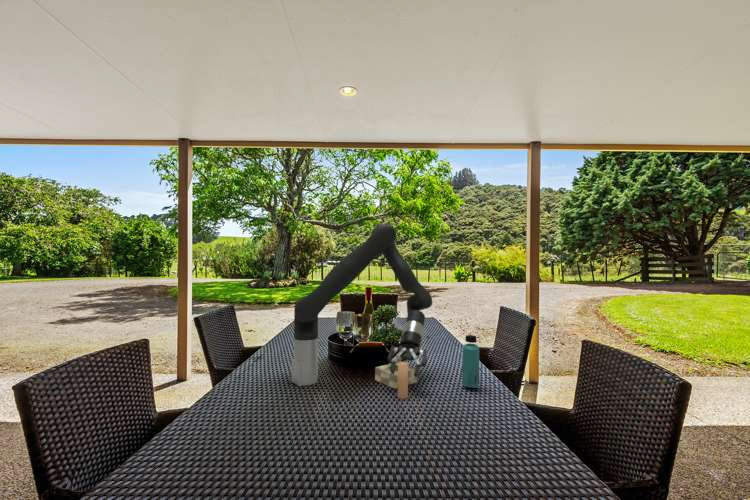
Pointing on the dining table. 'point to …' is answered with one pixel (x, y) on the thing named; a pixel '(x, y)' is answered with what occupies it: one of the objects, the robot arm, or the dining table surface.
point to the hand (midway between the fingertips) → (403, 374)
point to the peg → (402, 380)
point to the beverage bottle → (470, 363)
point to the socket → (393, 375)
